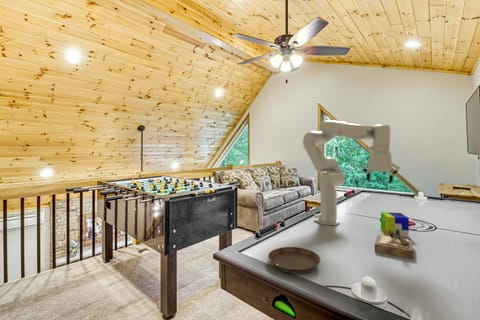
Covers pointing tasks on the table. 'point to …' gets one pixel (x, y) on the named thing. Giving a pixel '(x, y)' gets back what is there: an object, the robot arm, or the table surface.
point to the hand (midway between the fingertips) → (379, 182)
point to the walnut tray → (393, 247)
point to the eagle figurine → (398, 237)
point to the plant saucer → (294, 259)
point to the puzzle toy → (395, 223)
